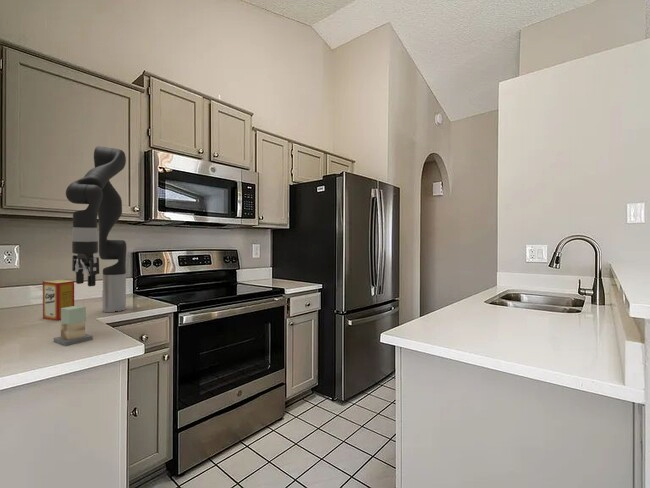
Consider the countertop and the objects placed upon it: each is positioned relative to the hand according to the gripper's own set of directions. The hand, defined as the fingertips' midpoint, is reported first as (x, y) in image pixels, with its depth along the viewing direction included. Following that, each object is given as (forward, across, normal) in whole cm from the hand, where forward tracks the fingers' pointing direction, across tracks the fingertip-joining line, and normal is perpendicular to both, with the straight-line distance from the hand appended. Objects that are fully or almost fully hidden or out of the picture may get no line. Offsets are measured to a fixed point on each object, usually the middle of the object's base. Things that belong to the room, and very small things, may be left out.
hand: (85, 284), depth 119 cm
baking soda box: (+19, +33, -4) cm, 38 cm away
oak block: (+16, -6, +6) cm, 18 cm away
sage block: (+11, -6, +6) cm, 14 cm away
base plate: (+18, -6, +6) cm, 20 cm away
